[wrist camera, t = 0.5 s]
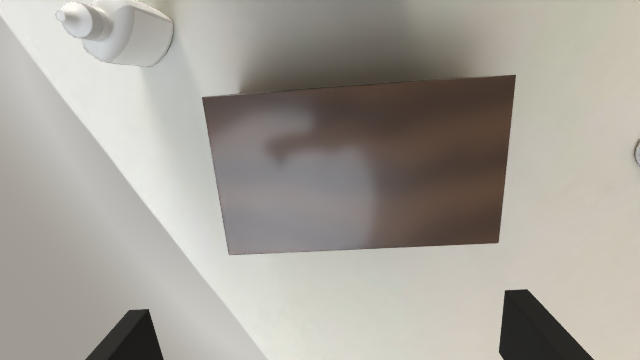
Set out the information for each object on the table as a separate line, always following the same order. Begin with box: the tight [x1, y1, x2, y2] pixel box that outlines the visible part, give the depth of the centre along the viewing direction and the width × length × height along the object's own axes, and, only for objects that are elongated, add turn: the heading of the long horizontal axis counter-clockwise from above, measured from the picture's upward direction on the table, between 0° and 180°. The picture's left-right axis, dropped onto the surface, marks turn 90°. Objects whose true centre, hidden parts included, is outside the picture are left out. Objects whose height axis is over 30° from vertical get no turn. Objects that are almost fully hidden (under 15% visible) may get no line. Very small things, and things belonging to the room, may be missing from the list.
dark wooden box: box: [202, 75, 516, 255], centre depth 31 cm, size 14×24×10 cm, turn 94°
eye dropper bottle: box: [55, 0, 173, 67], centre depth 27 cm, size 4×6×12 cm
